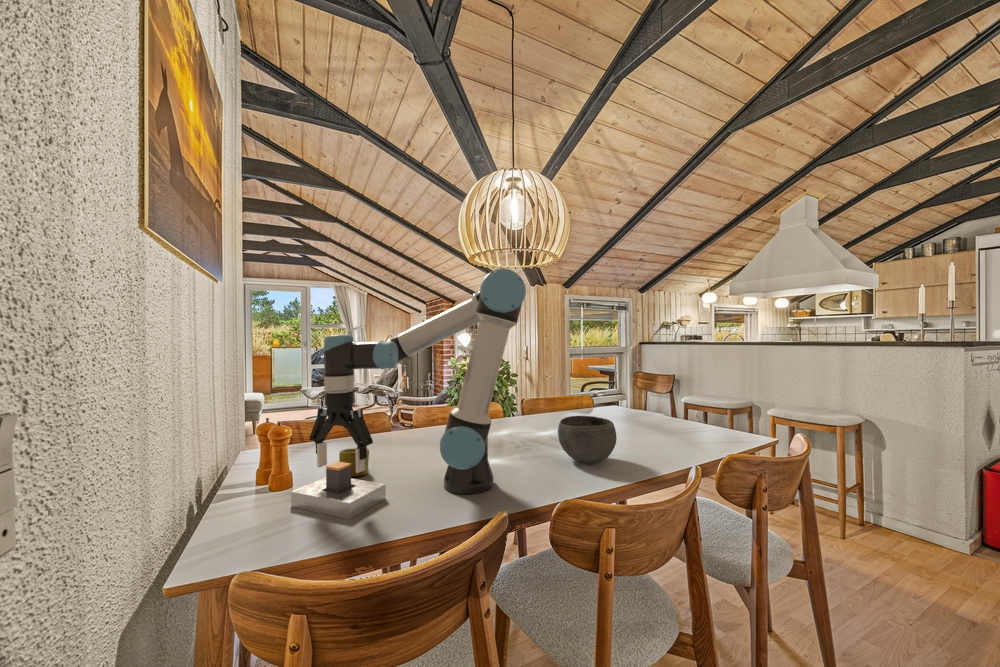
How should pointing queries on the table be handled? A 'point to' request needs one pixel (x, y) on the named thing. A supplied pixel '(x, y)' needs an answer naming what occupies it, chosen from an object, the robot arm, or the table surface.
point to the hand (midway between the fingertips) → (340, 468)
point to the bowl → (587, 438)
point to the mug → (353, 461)
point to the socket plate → (338, 498)
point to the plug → (338, 477)
